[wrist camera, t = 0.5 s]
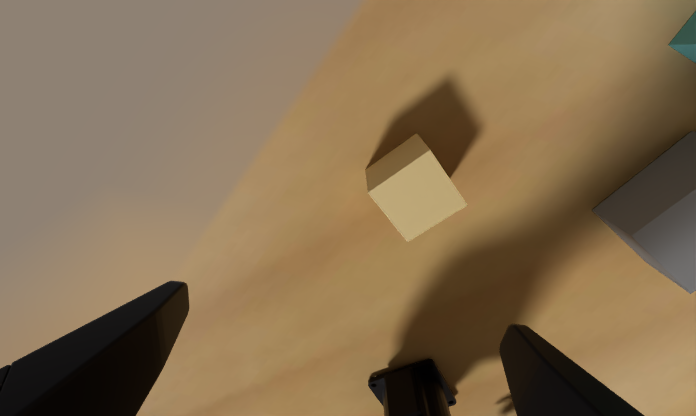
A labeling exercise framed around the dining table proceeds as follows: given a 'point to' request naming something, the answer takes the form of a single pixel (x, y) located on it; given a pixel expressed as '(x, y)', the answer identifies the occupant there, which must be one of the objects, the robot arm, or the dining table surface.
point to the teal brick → (686, 39)
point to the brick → (413, 188)
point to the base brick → (660, 213)
